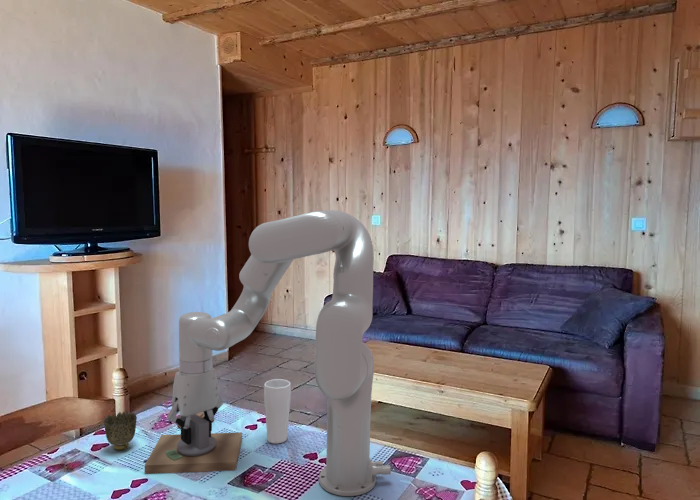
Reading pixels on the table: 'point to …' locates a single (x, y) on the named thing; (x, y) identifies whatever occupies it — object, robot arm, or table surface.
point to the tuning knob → (197, 438)
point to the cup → (120, 429)
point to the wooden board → (173, 462)
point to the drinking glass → (277, 409)
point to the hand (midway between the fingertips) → (196, 438)
